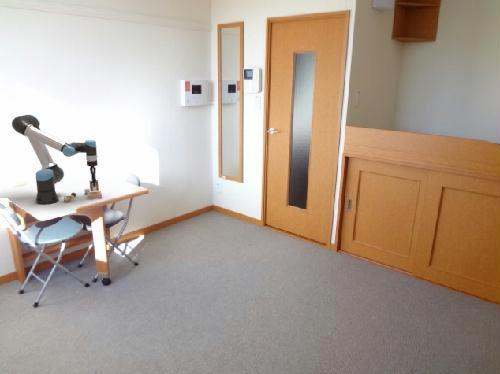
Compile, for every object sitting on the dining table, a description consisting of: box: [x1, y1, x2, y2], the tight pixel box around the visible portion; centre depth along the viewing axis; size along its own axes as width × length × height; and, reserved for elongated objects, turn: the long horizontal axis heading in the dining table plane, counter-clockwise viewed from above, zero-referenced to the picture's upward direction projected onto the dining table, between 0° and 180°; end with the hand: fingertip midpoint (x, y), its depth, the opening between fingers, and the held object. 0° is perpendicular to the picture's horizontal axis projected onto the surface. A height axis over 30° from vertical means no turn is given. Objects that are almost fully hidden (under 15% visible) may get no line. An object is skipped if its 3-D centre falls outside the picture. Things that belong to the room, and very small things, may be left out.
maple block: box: [63, 194, 75, 204], centre depth 291 cm, size 6×4×4 cm, turn 134°
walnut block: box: [89, 179, 100, 192], centre depth 302 cm, size 6×6×7 cm
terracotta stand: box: [87, 190, 103, 200], centre depth 304 cm, size 10×10×3 cm
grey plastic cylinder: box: [83, 188, 91, 196], centre depth 310 cm, size 4×4×4 cm
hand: (94, 189), depth 303 cm, fingers closed on walnut block, 6 cm apart
